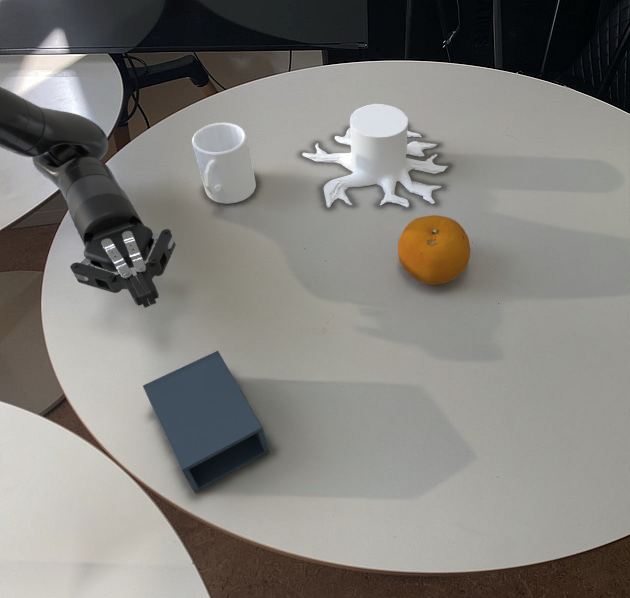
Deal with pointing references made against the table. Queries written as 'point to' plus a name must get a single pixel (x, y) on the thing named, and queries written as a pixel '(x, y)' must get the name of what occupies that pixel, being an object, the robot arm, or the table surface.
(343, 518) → the table surface
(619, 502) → the table surface
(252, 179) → the mug
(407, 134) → the white tree stump
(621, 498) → the table surface
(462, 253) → the fruit
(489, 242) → the table surface
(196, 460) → the bin
